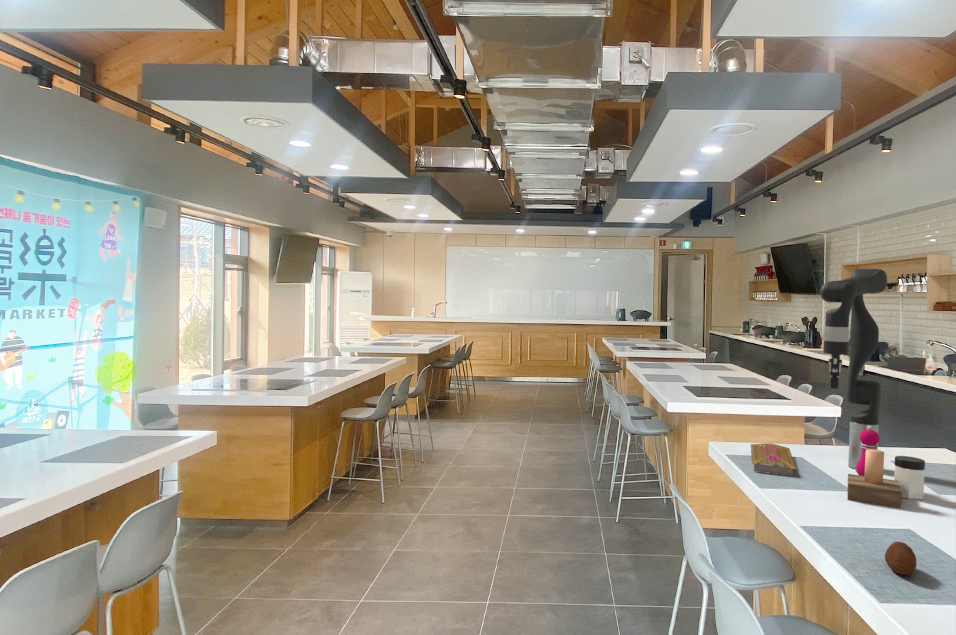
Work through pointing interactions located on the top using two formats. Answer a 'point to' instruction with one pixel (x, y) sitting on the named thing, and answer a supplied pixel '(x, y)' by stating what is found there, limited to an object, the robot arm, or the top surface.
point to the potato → (901, 558)
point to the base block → (874, 491)
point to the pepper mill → (866, 447)
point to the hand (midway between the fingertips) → (834, 387)
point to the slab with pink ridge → (772, 458)
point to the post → (874, 466)
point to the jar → (910, 476)
